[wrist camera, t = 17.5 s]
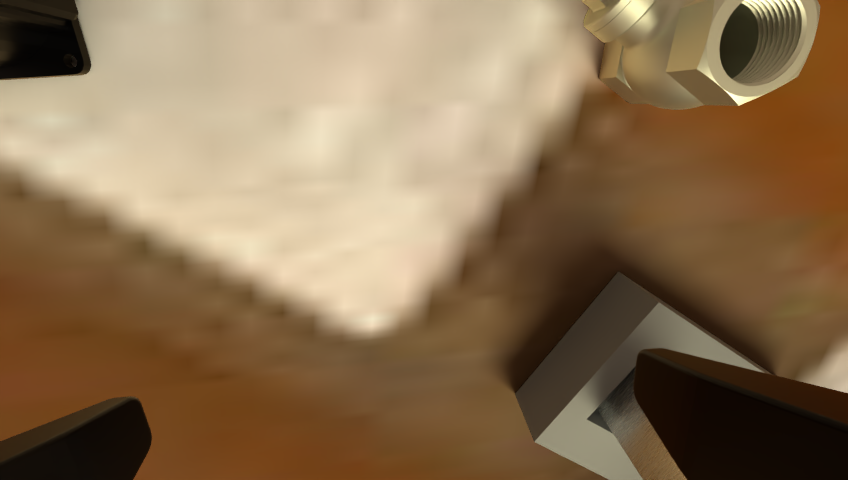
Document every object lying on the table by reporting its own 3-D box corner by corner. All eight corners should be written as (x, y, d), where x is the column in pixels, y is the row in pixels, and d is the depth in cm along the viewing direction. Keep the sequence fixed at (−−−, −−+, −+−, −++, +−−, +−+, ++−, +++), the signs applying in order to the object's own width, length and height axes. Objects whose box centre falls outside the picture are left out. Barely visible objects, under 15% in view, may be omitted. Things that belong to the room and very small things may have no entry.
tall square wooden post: (573, 372, 24) (768, 672, 11) (606, 332, 23) (852, 605, 11) (613, 393, 24) (837, 696, 12) (646, 354, 23) (922, 635, 11)
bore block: (515, 393, 24) (534, 441, 20) (618, 271, 22) (658, 302, 18) (672, 478, 27) (711, 531, 23) (776, 377, 25) (836, 420, 21)
